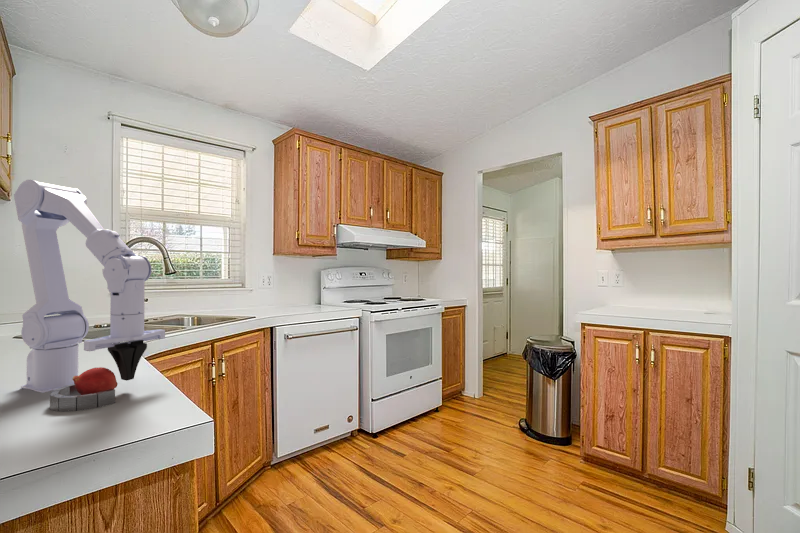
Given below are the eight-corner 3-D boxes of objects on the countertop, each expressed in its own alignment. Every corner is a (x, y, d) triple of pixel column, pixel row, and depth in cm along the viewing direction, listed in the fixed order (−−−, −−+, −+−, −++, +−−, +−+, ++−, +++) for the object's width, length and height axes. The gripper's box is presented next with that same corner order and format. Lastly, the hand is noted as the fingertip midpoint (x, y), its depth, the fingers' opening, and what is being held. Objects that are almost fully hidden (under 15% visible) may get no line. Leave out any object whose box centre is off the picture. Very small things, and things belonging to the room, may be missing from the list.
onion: (114, 405, 74) (69, 399, 68) (101, 395, 77) (56, 389, 71) (130, 376, 76) (87, 368, 69) (117, 367, 79) (74, 359, 72)
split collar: (38, 406, 70) (38, 391, 70) (82, 394, 76) (82, 381, 76) (70, 416, 65) (70, 401, 65) (115, 403, 71) (115, 389, 71)
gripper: (98, 319, 70) (98, 392, 70) (174, 310, 83) (173, 372, 83) (77, 316, 73) (77, 387, 73) (153, 309, 86) (153, 368, 86)
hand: (127, 379), depth 79 cm, fingers closed
